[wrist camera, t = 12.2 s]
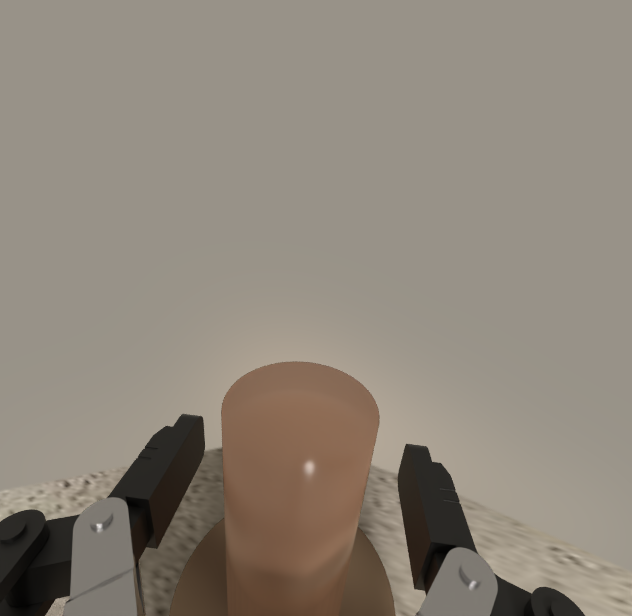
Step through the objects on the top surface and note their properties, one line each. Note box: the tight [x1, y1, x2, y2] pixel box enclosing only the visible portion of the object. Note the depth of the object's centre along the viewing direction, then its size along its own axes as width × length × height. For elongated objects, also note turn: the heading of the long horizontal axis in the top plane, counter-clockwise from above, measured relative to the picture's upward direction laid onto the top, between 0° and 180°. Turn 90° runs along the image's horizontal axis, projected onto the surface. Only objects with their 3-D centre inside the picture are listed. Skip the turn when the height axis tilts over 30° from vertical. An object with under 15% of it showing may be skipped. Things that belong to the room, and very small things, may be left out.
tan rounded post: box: [221, 362, 379, 616], centre depth 13 cm, size 5×5×11 cm
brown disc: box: [169, 518, 395, 616], centre depth 15 cm, size 10×10×2 cm
